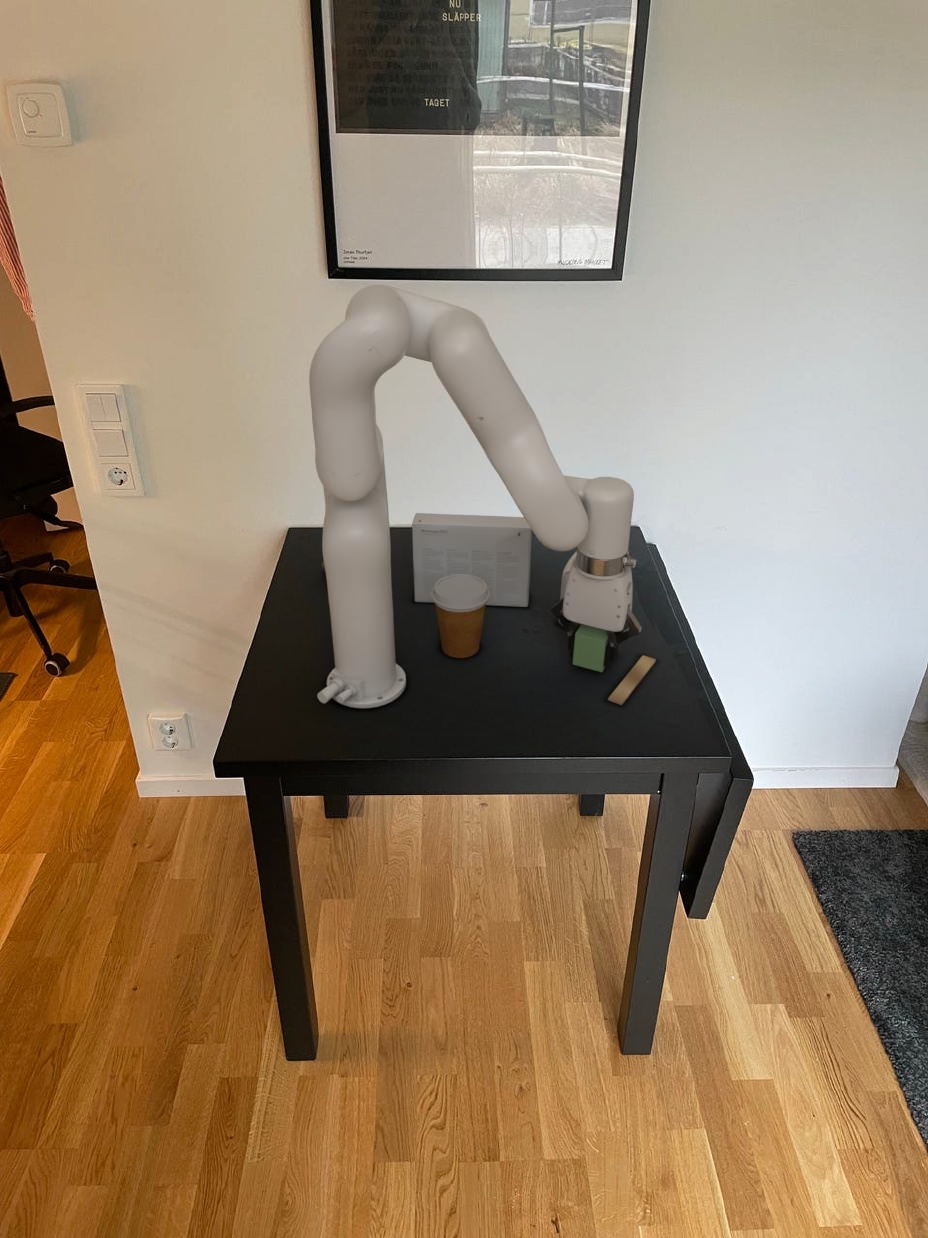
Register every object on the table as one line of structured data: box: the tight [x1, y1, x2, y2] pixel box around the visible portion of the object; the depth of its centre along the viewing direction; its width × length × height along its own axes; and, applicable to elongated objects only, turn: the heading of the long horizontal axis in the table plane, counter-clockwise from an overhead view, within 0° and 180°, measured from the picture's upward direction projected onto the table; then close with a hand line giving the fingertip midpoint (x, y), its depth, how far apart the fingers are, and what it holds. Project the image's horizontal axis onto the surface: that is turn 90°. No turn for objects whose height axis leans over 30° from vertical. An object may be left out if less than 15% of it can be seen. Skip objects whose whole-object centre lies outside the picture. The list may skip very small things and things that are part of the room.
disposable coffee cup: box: [431, 574, 489, 659], centre depth 150 cm, size 10×10×12 cm
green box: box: [572, 624, 620, 673], centre depth 147 cm, size 5×10×6 cm, turn 154°
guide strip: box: [607, 655, 657, 706], centre depth 146 cm, size 14×2×1 cm, turn 148°
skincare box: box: [411, 512, 532, 608], centre depth 163 cm, size 21×6×16 cm, turn 84°
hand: (591, 657), depth 145 cm, fingers closed on green box, 5 cm apart
